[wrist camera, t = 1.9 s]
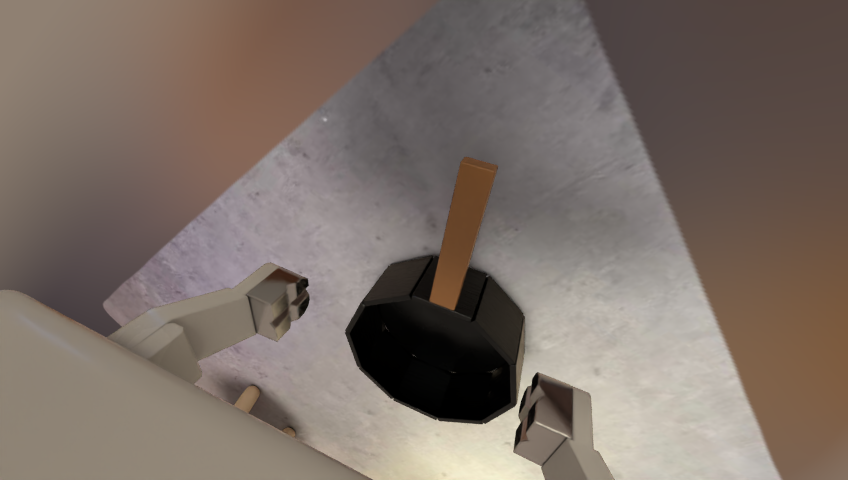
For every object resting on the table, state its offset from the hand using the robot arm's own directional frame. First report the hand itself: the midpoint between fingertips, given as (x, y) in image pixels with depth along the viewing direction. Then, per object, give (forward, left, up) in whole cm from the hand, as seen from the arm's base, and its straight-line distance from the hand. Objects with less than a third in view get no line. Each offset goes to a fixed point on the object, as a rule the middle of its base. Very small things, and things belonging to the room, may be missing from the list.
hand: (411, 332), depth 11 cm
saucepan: (+2, -7, -11) cm, 14 cm away
